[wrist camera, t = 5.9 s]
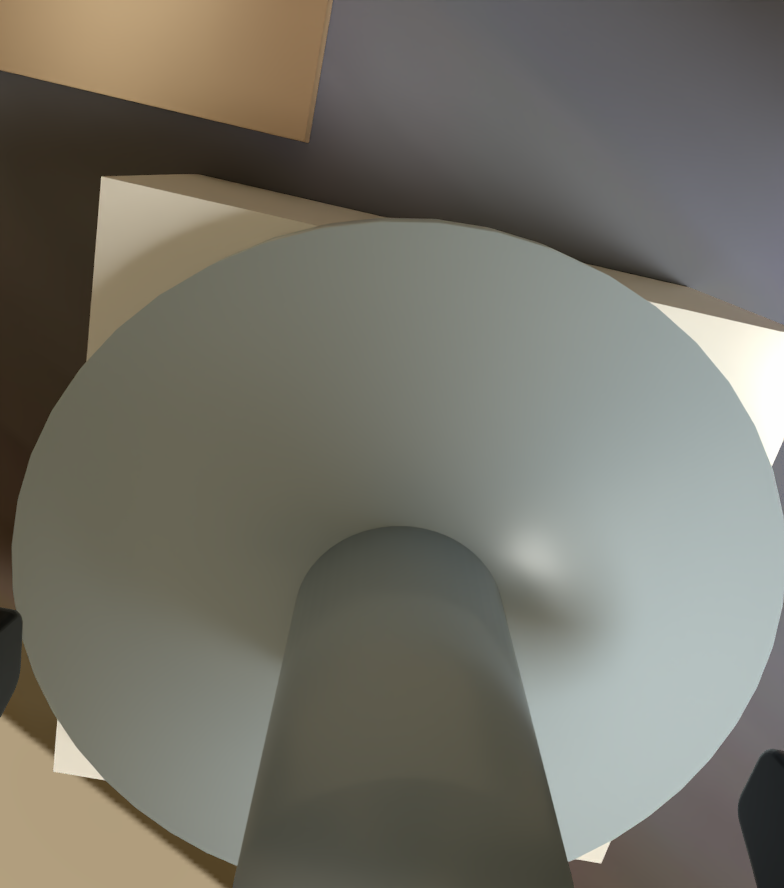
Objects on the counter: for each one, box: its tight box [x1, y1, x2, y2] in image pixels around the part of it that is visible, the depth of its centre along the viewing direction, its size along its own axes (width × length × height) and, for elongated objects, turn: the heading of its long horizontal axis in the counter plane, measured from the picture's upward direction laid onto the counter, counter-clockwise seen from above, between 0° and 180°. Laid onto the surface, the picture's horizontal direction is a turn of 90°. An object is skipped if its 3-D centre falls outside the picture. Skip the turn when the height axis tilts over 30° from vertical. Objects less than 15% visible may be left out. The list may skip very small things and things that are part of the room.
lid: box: [12, 218, 784, 888], centre depth 9 cm, size 11×11×6 cm
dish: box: [53, 174, 784, 863], centre depth 14 cm, size 10×10×5 cm
